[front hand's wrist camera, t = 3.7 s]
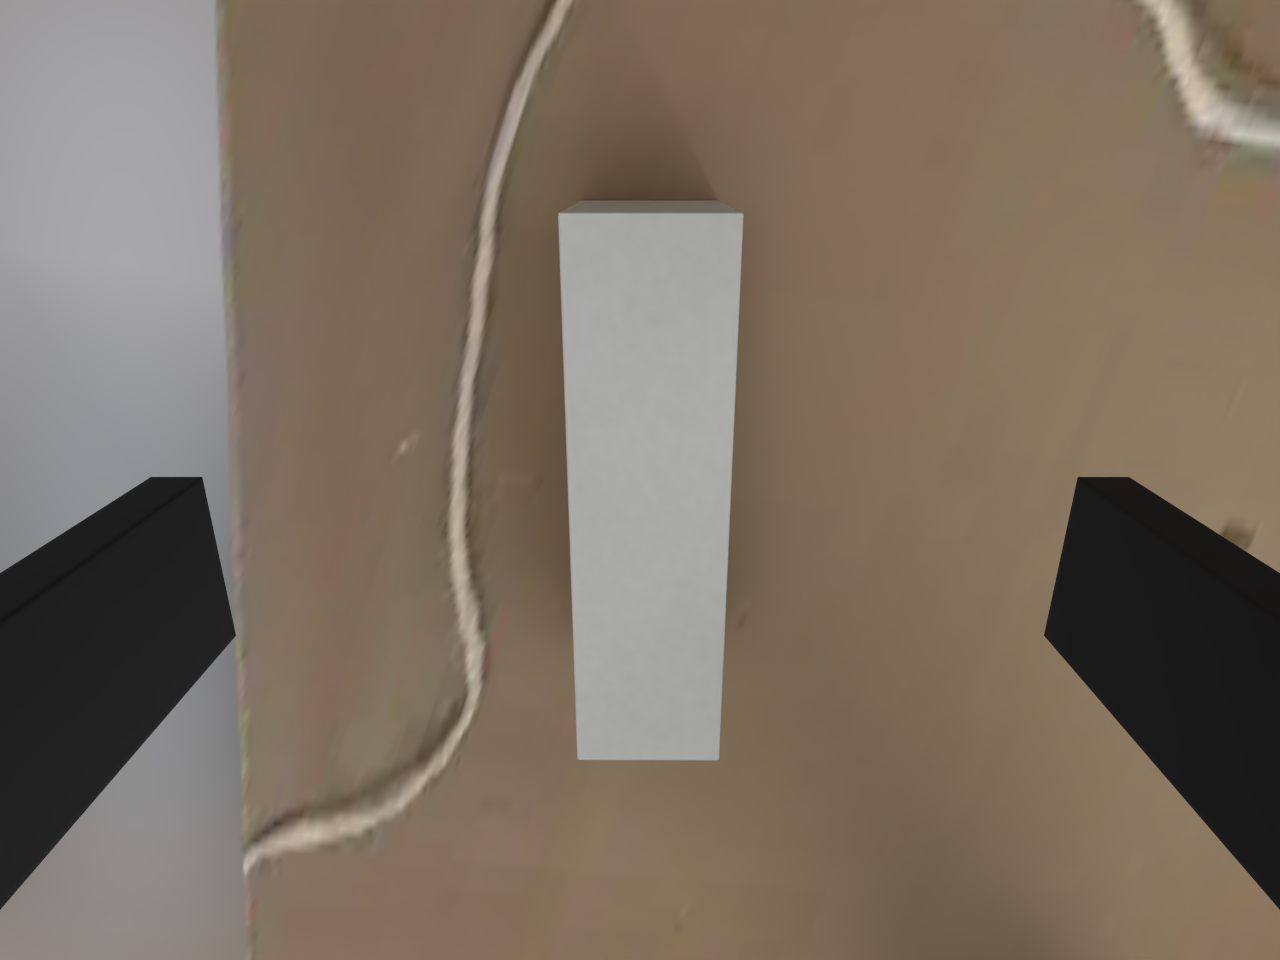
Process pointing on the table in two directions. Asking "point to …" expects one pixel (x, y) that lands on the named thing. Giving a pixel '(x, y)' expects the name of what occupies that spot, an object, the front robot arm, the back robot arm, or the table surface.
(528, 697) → the table surface
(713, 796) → the table surface
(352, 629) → the table surface
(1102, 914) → the table surface
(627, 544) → the box
